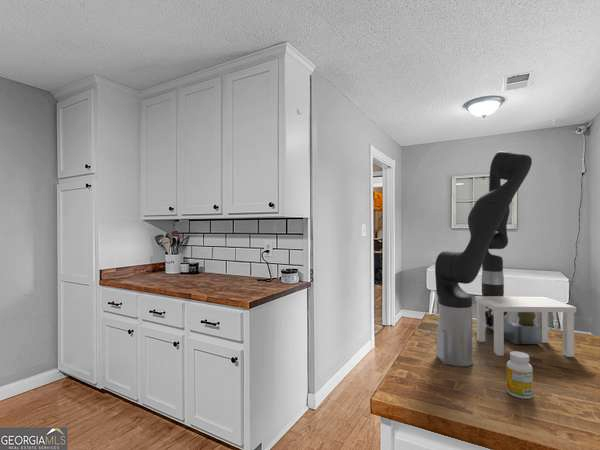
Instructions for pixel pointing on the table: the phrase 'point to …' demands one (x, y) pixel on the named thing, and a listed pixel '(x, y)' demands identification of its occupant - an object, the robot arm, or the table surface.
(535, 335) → the steel crook
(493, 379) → the table surface
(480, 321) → the low table
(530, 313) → the cork
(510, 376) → the supplement bottle
